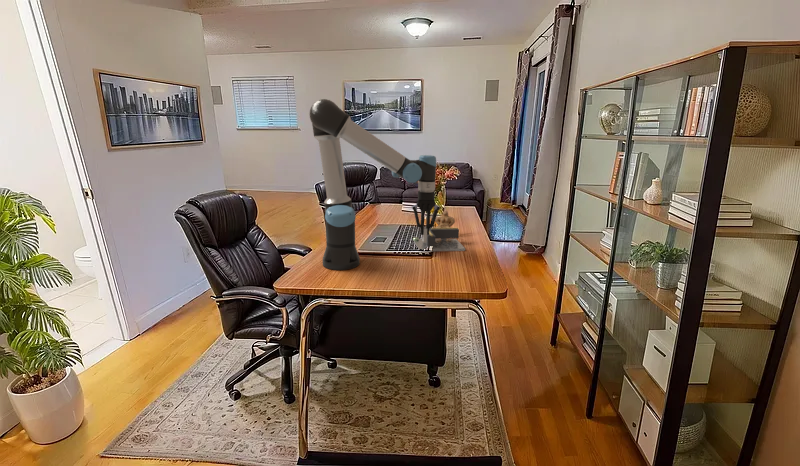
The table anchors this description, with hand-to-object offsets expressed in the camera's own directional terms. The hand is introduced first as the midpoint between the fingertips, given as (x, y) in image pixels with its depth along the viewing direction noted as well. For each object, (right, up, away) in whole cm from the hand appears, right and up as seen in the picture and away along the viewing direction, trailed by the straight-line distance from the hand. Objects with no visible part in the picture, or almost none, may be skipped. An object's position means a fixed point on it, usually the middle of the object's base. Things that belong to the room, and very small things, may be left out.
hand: (424, 241), depth 172 cm
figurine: (+12, +3, +28) cm, 31 cm away
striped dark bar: (+3, -1, +7) cm, 7 cm away
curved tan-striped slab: (+11, +1, +14) cm, 18 cm away
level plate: (+7, -2, +9) cm, 12 cm away
